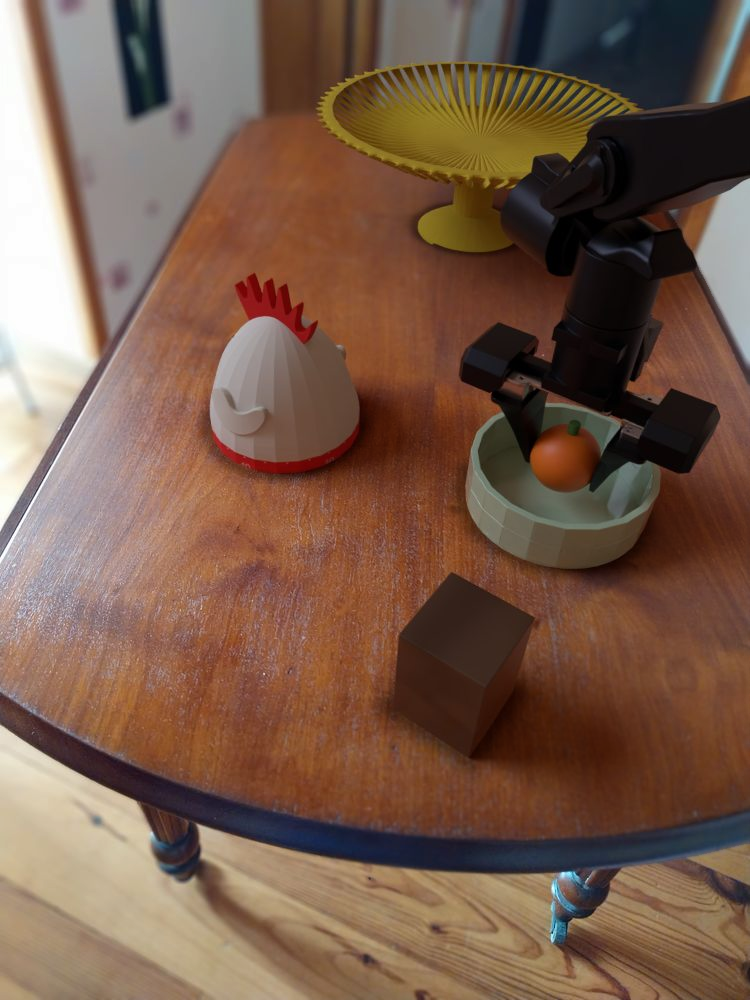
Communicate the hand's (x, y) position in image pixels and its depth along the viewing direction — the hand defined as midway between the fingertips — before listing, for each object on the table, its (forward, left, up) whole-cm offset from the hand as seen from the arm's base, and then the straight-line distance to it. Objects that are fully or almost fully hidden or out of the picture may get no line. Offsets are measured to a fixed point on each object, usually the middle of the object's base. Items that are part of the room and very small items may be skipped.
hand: (561, 474), depth 62 cm
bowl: (0, 0, -4) cm, 4 cm away
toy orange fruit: (0, 0, -1) cm, 1 cm away
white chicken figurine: (+25, +6, -4) cm, 26 cm away
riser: (-3, +21, -4) cm, 22 cm away
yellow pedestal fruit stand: (+32, -40, -4) cm, 51 cm away
